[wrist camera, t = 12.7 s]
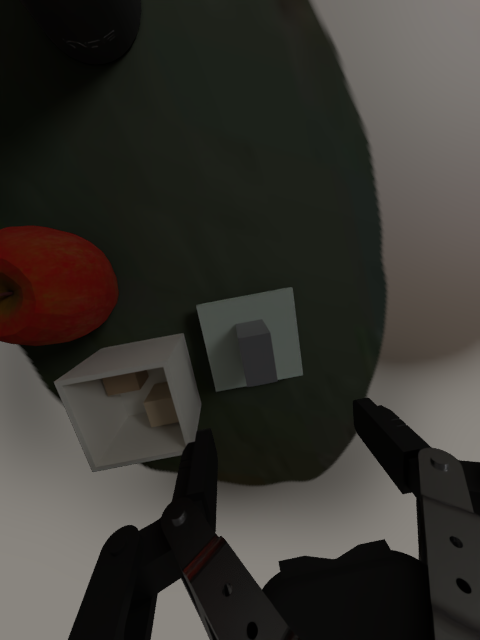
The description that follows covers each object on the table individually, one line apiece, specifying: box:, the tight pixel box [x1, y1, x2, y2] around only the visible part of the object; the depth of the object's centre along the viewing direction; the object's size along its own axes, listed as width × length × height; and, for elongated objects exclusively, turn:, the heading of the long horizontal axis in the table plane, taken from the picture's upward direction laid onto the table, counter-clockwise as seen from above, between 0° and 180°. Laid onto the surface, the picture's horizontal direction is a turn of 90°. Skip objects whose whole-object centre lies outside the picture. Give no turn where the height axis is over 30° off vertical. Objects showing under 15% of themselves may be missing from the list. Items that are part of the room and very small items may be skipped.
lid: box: [196, 287, 303, 392], centre depth 25 cm, size 11×11×7 cm
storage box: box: [54, 333, 201, 472], centre depth 25 cm, size 10×10×8 cm
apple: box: [0, 226, 119, 346], centre depth 21 cm, size 11×11×11 cm
